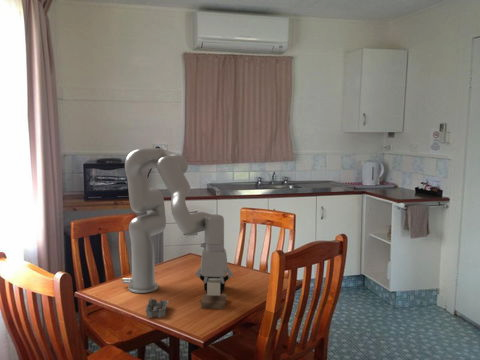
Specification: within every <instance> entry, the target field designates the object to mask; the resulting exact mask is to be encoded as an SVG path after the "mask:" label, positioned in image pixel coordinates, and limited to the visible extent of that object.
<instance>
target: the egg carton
mask: <svg viewBox="0 0 480 360" xmlns="http://www.w3.org/2000/svg"><path fill="white" fill-rule="evenodd" d="M147 302H148V303H147V304H146V307H145V312H146V317H148V318H150V319H152V318H155V317H156V318H159V319H161V318H163V317H166V313H167V309H168V304H169V300H165V299H164V300H162V299H160V300H159V301H157V299H156V298H152V297H150V298H149V299H148V301H147ZM160 308H161V309H160Z"/></svg>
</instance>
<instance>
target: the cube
mask: <svg viewBox="0 0 480 360" xmlns="http://www.w3.org/2000/svg"><path fill="white" fill-rule="evenodd" d="M220 284H221V279H211V278H209V279H208V282H207V295H218V296H220V294H221V293H220Z"/></svg>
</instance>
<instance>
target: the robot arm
mask: <svg viewBox="0 0 480 360" xmlns="http://www.w3.org/2000/svg"><path fill="white" fill-rule="evenodd" d="M149 169H157V171H158V174H159V176H160V177H161V180H162V181H163V183H164V185H165V187H166V189H167V190H168V192H169V194H170V196H171V198H170V199H171V200H170V207H171V208H170V209H171V214H172V217H173V219H174V221H175V223H176V225H177V228H179V230H180V231H181V232H182V233H183V234H185V235H189V236H192V235H195V234H197V233H200V232H204V242H203V243H201V244H200V247H201V248H203V250H202V252H201V256H200V257H201V259H200V260H201V261H200V267H199V269H197V271H195V276H196V277H198V278H199V279H200V280H201V281H202V282H203V284H204V285H203V286H204V287H203V289H204V291H205V293H207V282H208V280H207V279H208V277H220V279H221V284H220V293H221V294H223V292H224V291H225V288H224V283H225V284H226V282H227V280H230V278H232V277H233V275H234V273H233V271H232V270H231V269H230V268H229V266H228V255H227V250H226V249H225V219H224V218H225V217H224V216H223V215H222V214H211V213H208V212H205V211H198V212H194V213H190V211H189V209H188V207H187V204H186V198H187V194H188V193H189V191H190V190H191V185H190V183H189V181H188V179H187V177H186V176H185V174H186V173H187V172H188V169H189V163H188V161H187V159H186V158H185V157H184V156H182V155H181V154H178V153H176V152H173V151H170V150H167V149H164V148H159V147H151V148H150V147H149V148H146V147H145V148H137V149H134V150H133V151H131V152H130V153H128V155H127V156H126V158H125V161H124V170H125V174H126V175H125V176H126V179H127V189H128V199H129V200H128V201H129V206H130V209H131V210H132V212H134V213H136V214H137V213H145V212H146V214H141V215H138V216H136V217H134V218H132V219H131V221H130V222H129V225H128V234H129V239H130V245H131V246H130V249H131V277H129V278H127V277H123V278H122V280H121V281H122V283H123V285H128V288H127V289H128V291H129V292H131V293H134V294H147V293H152V292H155V291H157V290H158V289H159V283H157V282H156V280H155V278H156V277H155V274H156V273H155V272H156V271H155V266H156V265H155V263H156V262H155V244H154V242H153V240H152V236H156V235H159V234H161V233H162V232H164V231H165V230H166V225H167V219H166V218H167V217H166V207H165V199H164V196H163V194H162V192H161V191H160V190H159V189H158V188H156V187H151V188H150V184H149V178H148V176H147V174H146V172H145V170H149Z"/></svg>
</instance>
